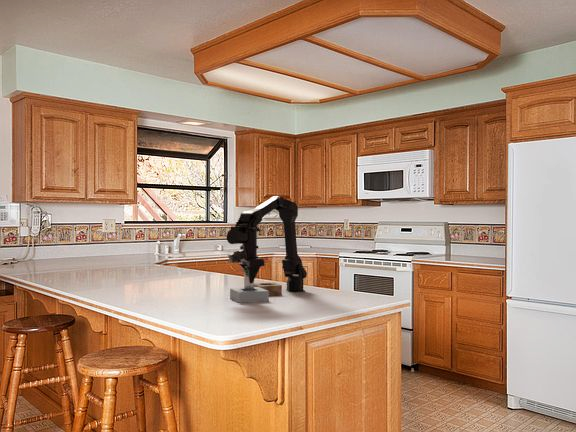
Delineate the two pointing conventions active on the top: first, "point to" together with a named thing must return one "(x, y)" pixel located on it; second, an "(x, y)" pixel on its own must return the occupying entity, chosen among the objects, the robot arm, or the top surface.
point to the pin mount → (270, 287)
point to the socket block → (249, 295)
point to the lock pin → (247, 281)
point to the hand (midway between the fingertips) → (249, 282)
